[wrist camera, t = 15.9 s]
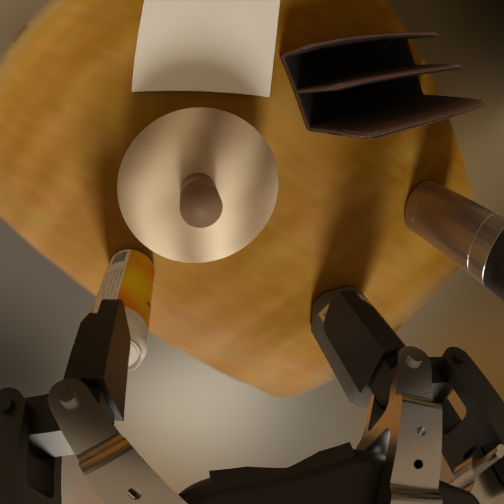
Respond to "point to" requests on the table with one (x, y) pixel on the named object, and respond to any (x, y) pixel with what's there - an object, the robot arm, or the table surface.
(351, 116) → the letter holder
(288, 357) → the table surface
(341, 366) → the liquor
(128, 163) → the lid
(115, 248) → the table surface
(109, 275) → the beer can
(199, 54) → the mat
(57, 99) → the table surface
